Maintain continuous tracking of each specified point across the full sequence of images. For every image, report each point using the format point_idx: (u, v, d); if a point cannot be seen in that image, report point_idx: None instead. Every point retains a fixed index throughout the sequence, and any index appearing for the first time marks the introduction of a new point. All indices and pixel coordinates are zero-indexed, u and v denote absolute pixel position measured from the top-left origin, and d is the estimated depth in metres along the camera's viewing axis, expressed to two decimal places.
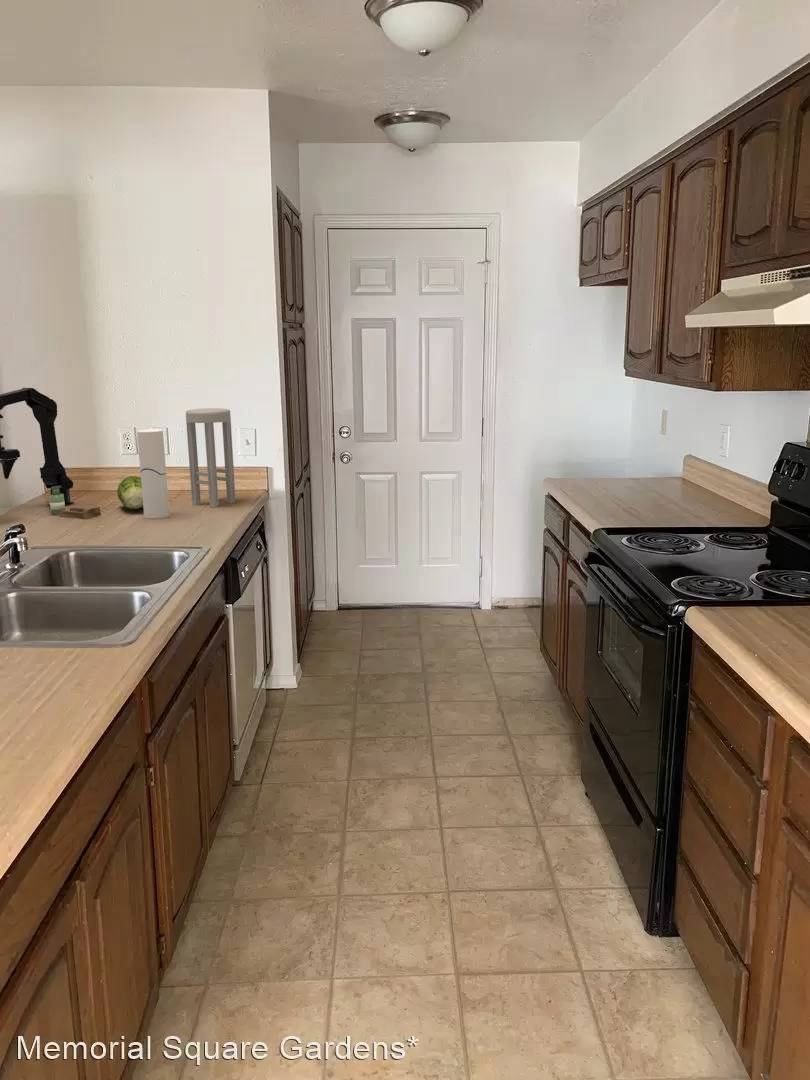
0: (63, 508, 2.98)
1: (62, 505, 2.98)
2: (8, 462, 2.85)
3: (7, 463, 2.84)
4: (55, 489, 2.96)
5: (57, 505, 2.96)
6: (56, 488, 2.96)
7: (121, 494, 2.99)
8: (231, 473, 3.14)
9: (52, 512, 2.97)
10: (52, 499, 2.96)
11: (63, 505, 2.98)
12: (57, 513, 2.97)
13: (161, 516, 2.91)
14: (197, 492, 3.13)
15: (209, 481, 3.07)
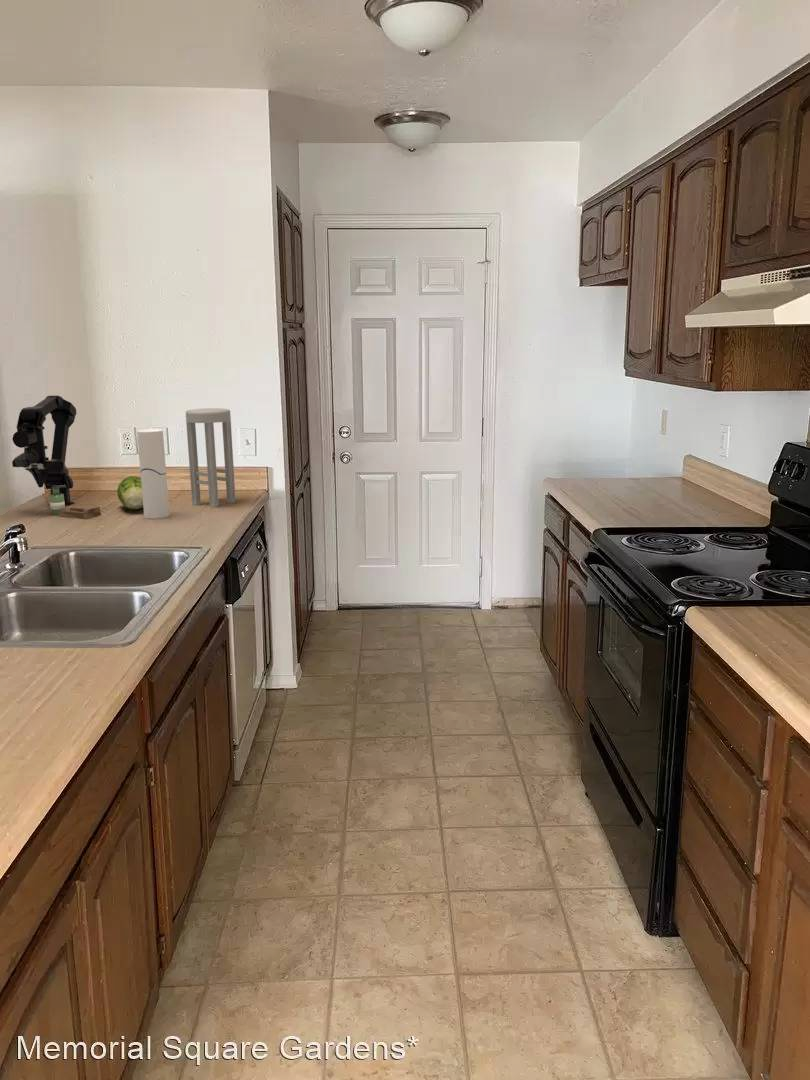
0: (63, 508, 2.98)
1: (62, 505, 2.98)
2: (43, 471, 2.98)
3: (42, 472, 2.98)
4: (55, 489, 2.96)
5: (57, 505, 2.96)
6: (56, 488, 2.96)
7: (121, 494, 2.99)
8: (231, 473, 3.14)
9: (52, 512, 2.97)
10: (52, 499, 2.96)
11: (63, 505, 2.98)
12: (57, 513, 2.97)
13: (161, 516, 2.91)
14: (197, 492, 3.13)
15: (209, 481, 3.07)
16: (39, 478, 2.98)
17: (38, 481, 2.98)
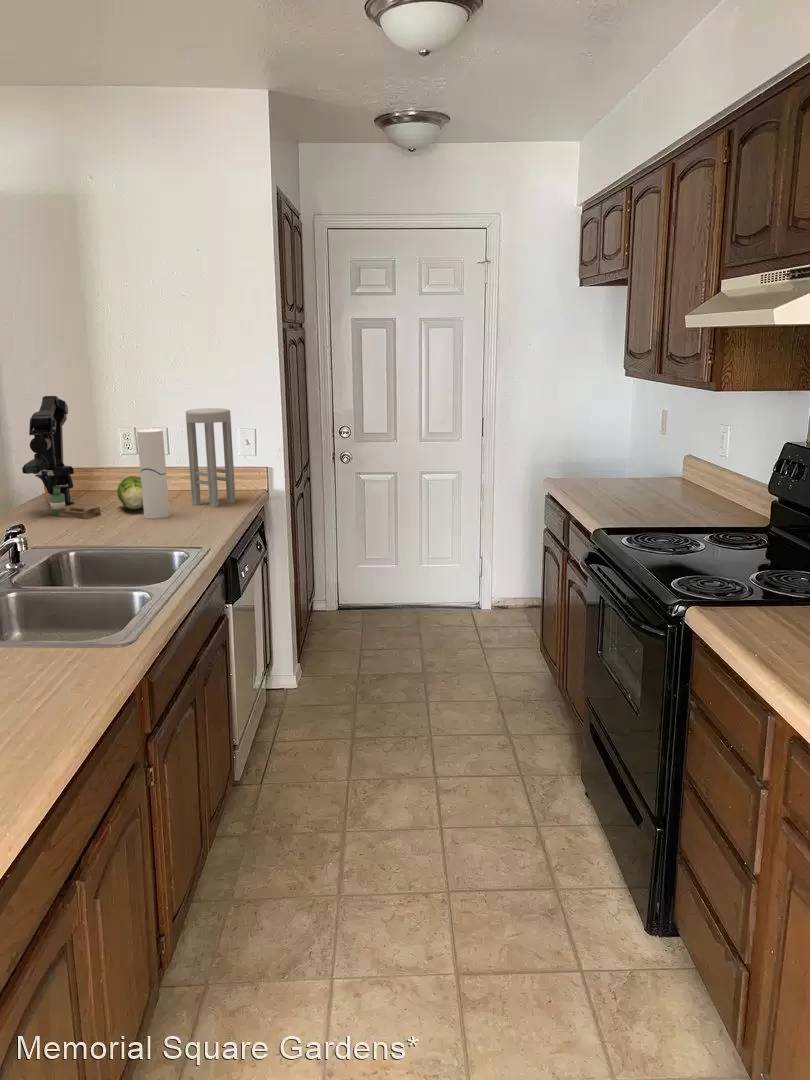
0: (63, 508, 2.98)
1: (62, 505, 2.97)
2: (52, 478, 2.97)
3: (51, 479, 2.97)
4: (56, 489, 2.96)
5: (57, 505, 2.96)
6: (57, 488, 2.96)
7: (121, 494, 2.99)
8: (231, 473, 3.14)
9: (52, 512, 2.97)
10: (53, 499, 2.96)
11: (63, 505, 2.98)
12: (57, 513, 2.97)
13: (161, 516, 2.91)
14: (197, 492, 3.13)
15: (209, 481, 3.07)
16: (49, 484, 2.96)
17: (48, 488, 2.97)
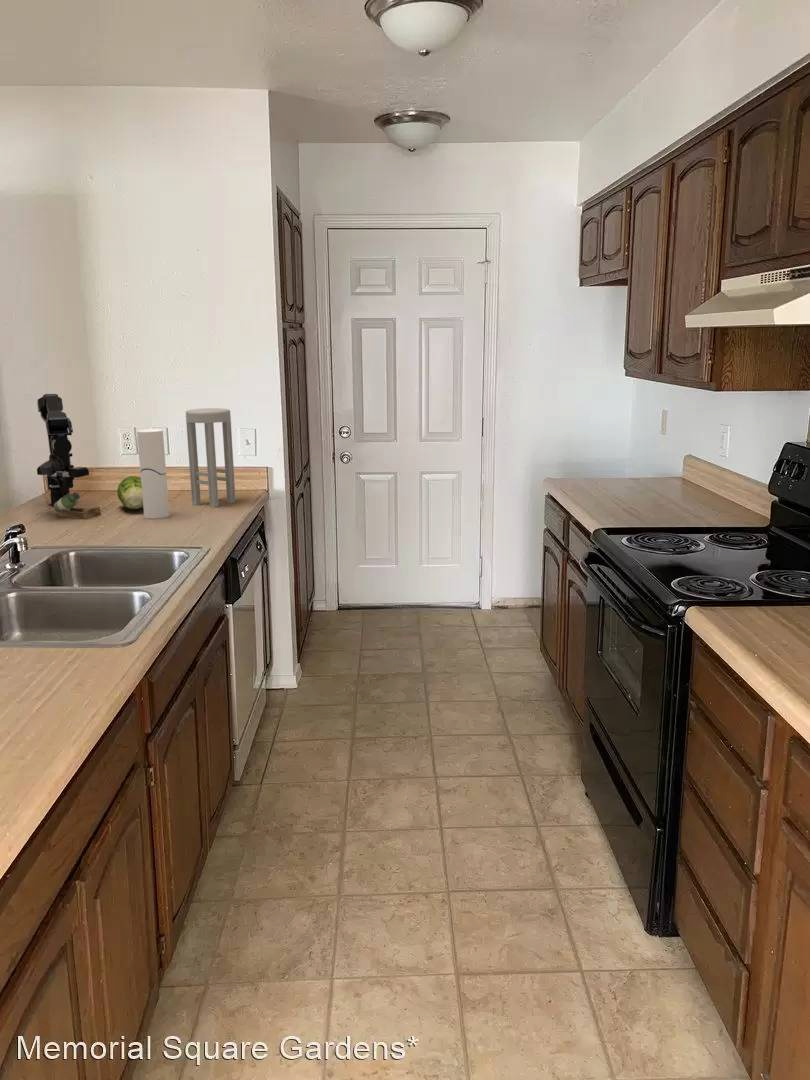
0: None
1: (68, 510, 2.97)
2: (67, 479, 2.95)
3: (66, 480, 2.94)
4: (74, 499, 2.94)
5: (64, 508, 2.95)
6: (75, 499, 2.94)
7: (121, 494, 2.99)
8: (231, 473, 3.14)
9: (56, 507, 2.96)
10: (65, 503, 2.94)
11: (69, 509, 2.98)
12: None
13: (161, 516, 2.91)
14: (197, 492, 3.13)
15: (209, 481, 3.07)
16: (64, 486, 2.94)
17: (63, 489, 2.95)
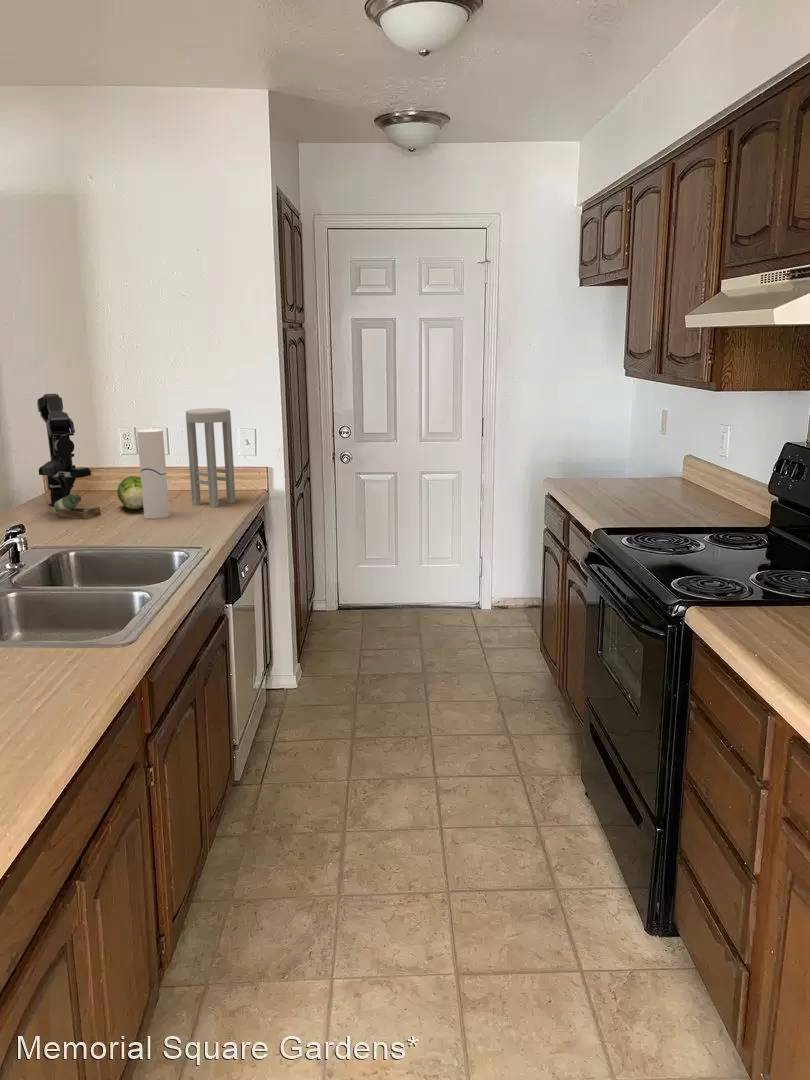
0: None
1: (67, 510, 2.97)
2: (69, 479, 2.95)
3: (68, 480, 2.94)
4: (75, 501, 2.94)
5: (64, 509, 2.95)
6: (76, 501, 2.94)
7: (121, 494, 2.99)
8: (231, 473, 3.14)
9: (56, 506, 2.96)
10: (65, 504, 2.94)
11: None
12: None
13: (161, 516, 2.91)
14: (197, 492, 3.13)
15: (209, 481, 3.07)
16: (66, 486, 2.94)
17: (65, 489, 2.94)
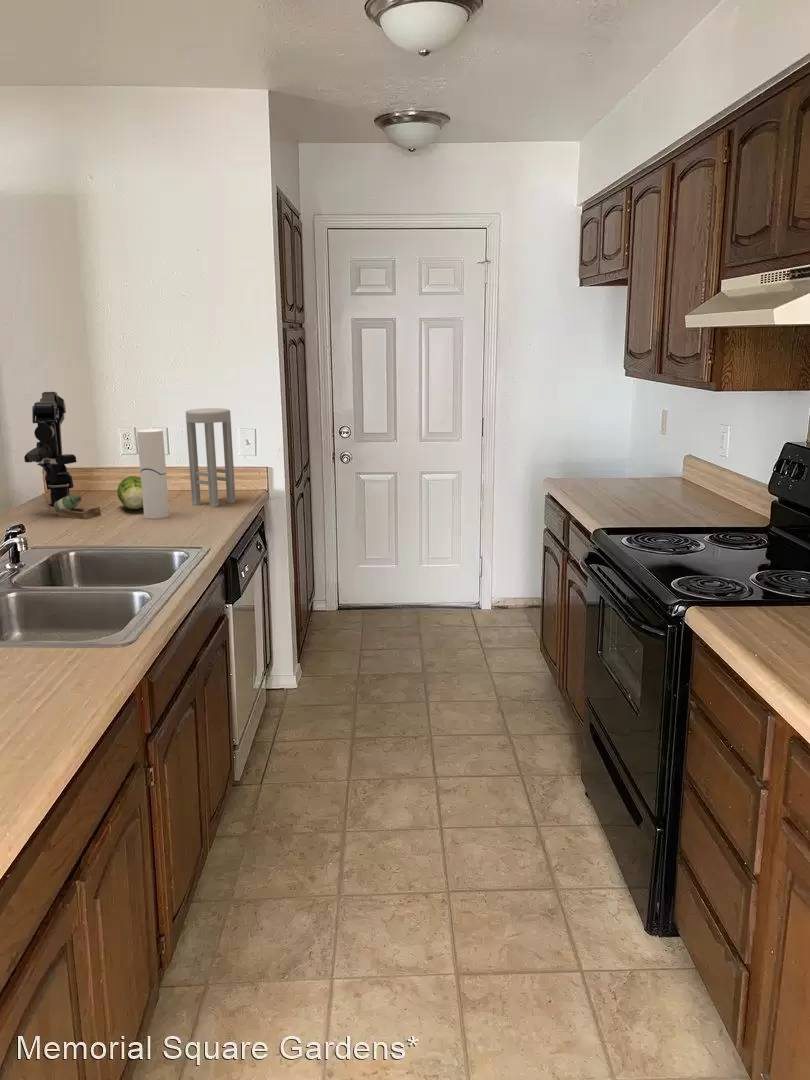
0: None
1: (67, 510, 2.97)
2: (55, 466, 2.96)
3: (54, 467, 2.95)
4: (75, 501, 2.94)
5: (64, 509, 2.95)
6: (76, 501, 2.94)
7: (121, 494, 2.99)
8: (231, 473, 3.14)
9: (56, 506, 2.96)
10: (65, 504, 2.94)
11: None
12: None
13: (161, 516, 2.91)
14: (197, 492, 3.13)
15: (209, 481, 3.07)
16: (51, 473, 2.95)
17: (50, 476, 2.95)
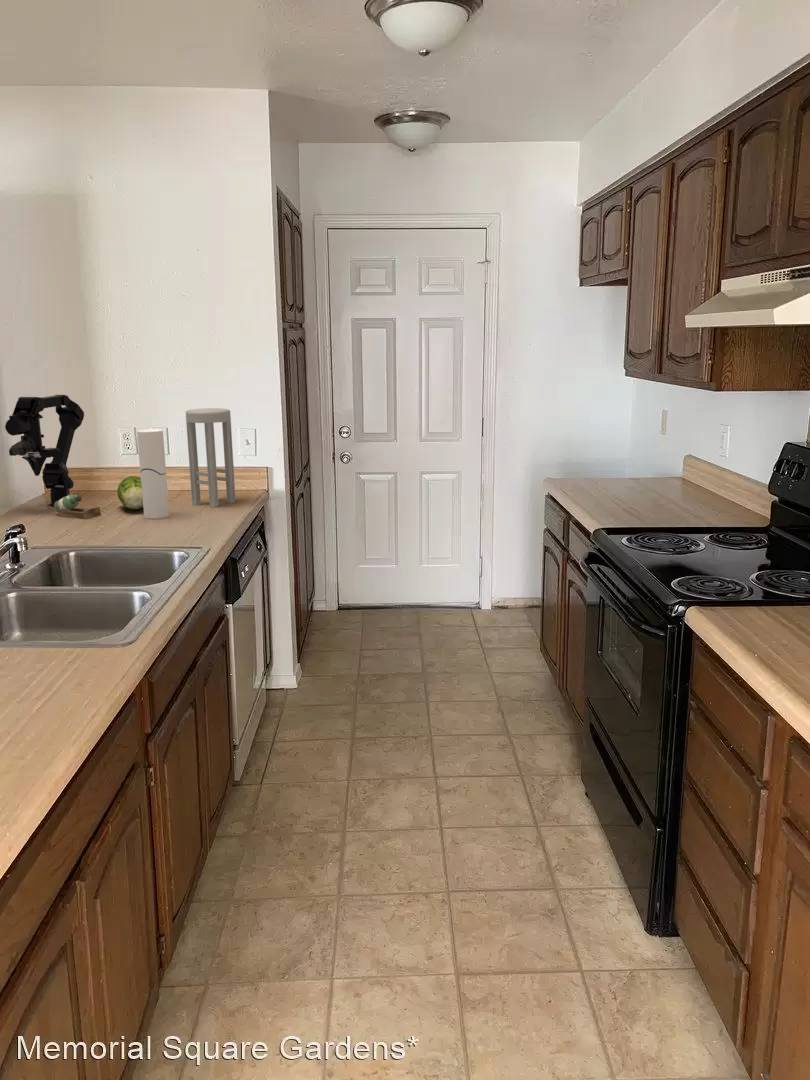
0: None
1: (67, 510, 2.97)
2: (39, 460, 3.00)
3: (38, 461, 3.00)
4: (75, 501, 2.94)
5: (64, 509, 2.95)
6: (76, 501, 2.94)
7: (121, 494, 2.99)
8: (231, 473, 3.14)
9: (56, 506, 2.96)
10: (65, 504, 2.94)
11: None
12: None
13: (161, 516, 2.91)
14: (197, 492, 3.13)
15: (209, 481, 3.07)
16: (36, 466, 3.00)
17: (35, 469, 3.00)
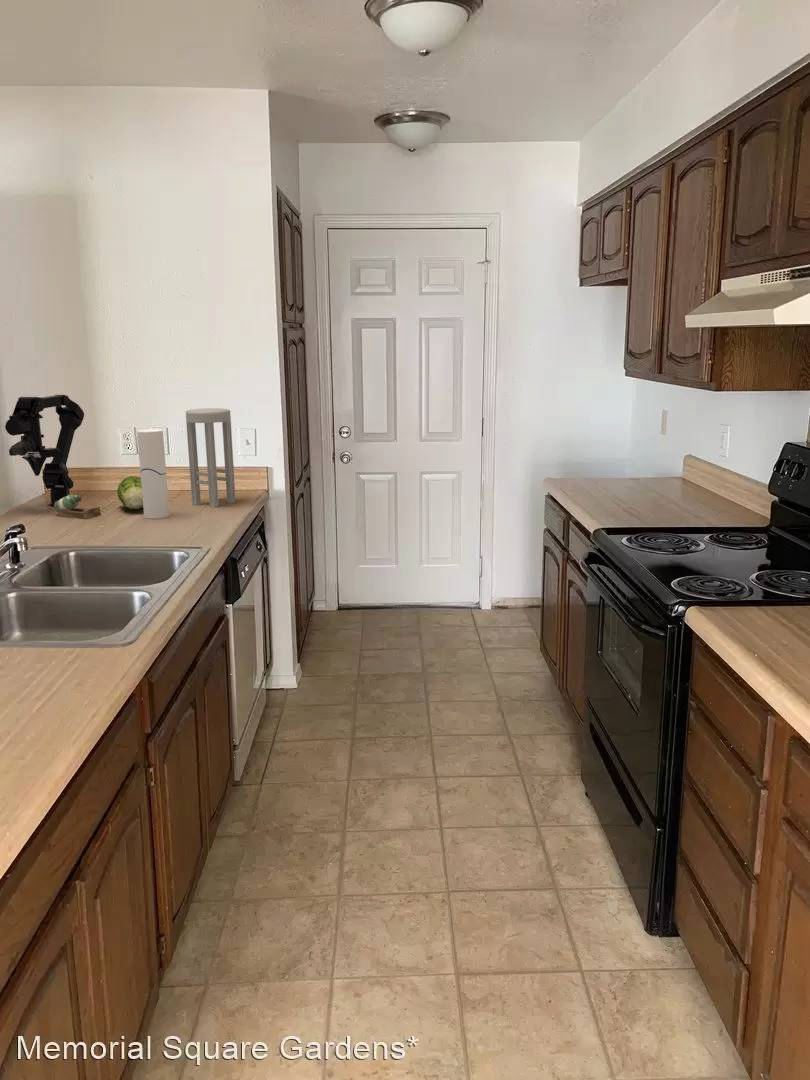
0: None
1: (67, 510, 2.97)
2: (39, 460, 3.00)
3: (38, 461, 3.00)
4: (75, 501, 2.94)
5: (64, 509, 2.95)
6: (76, 501, 2.94)
7: (121, 494, 2.99)
8: (231, 473, 3.14)
9: (56, 506, 2.96)
10: (65, 504, 2.94)
11: None
12: None
13: (161, 516, 2.91)
14: (197, 492, 3.13)
15: (209, 481, 3.07)
16: (35, 466, 3.00)
17: (35, 469, 3.00)
